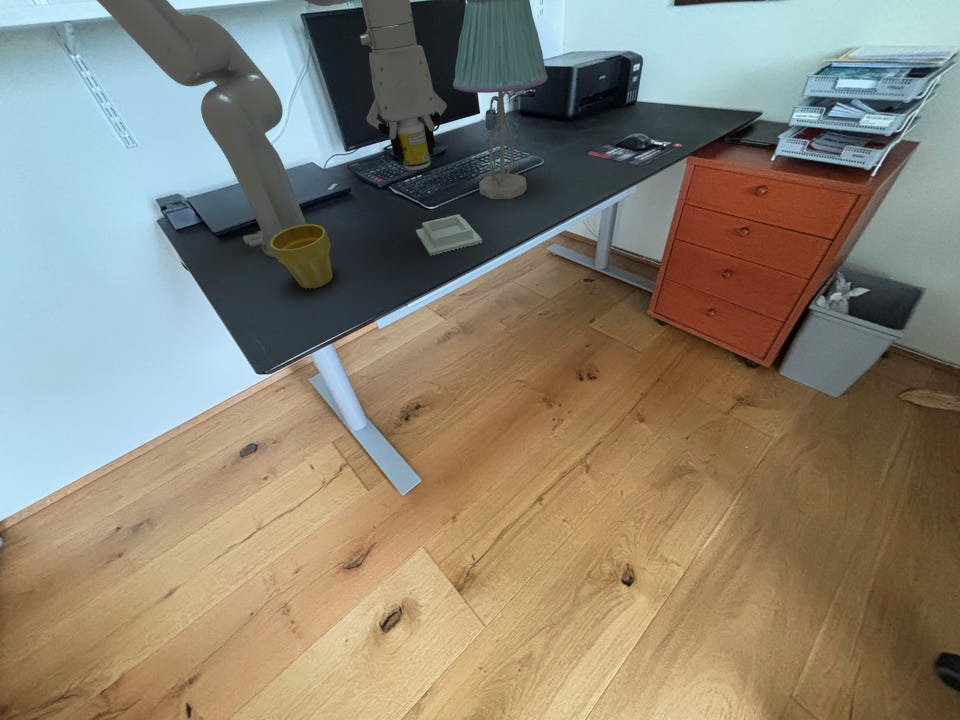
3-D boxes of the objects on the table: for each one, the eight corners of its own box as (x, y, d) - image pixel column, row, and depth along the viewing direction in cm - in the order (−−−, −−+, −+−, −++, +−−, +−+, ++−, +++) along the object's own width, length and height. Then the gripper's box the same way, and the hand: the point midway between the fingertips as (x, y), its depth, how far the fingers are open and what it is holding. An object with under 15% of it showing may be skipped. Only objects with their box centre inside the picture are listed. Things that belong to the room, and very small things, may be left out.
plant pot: (281, 295, 79) (259, 250, 72) (301, 267, 87) (282, 224, 80) (332, 294, 78) (314, 248, 71) (347, 266, 86) (332, 222, 79)
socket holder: (430, 256, 86) (428, 244, 84) (416, 233, 94) (414, 221, 93) (482, 242, 89) (481, 231, 87) (464, 221, 97) (462, 210, 95)
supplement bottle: (401, 164, 82) (389, 109, 75) (426, 159, 83) (417, 104, 76) (407, 172, 78) (395, 115, 71) (433, 166, 79) (424, 109, 72)
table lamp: (487, 171, 120) (477, -10, 93) (555, 180, 112) (567, -16, 84) (448, 199, 107) (423, -1, 80) (521, 212, 99) (522, -9, 71)
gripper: (344, 49, 62) (376, 171, 75) (448, 32, 65) (462, 151, 78) (338, 45, 67) (369, 160, 80) (436, 30, 71) (451, 142, 83)
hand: (415, 154), depth 79 cm, fingers closed on supplement bottle, 5 cm apart
